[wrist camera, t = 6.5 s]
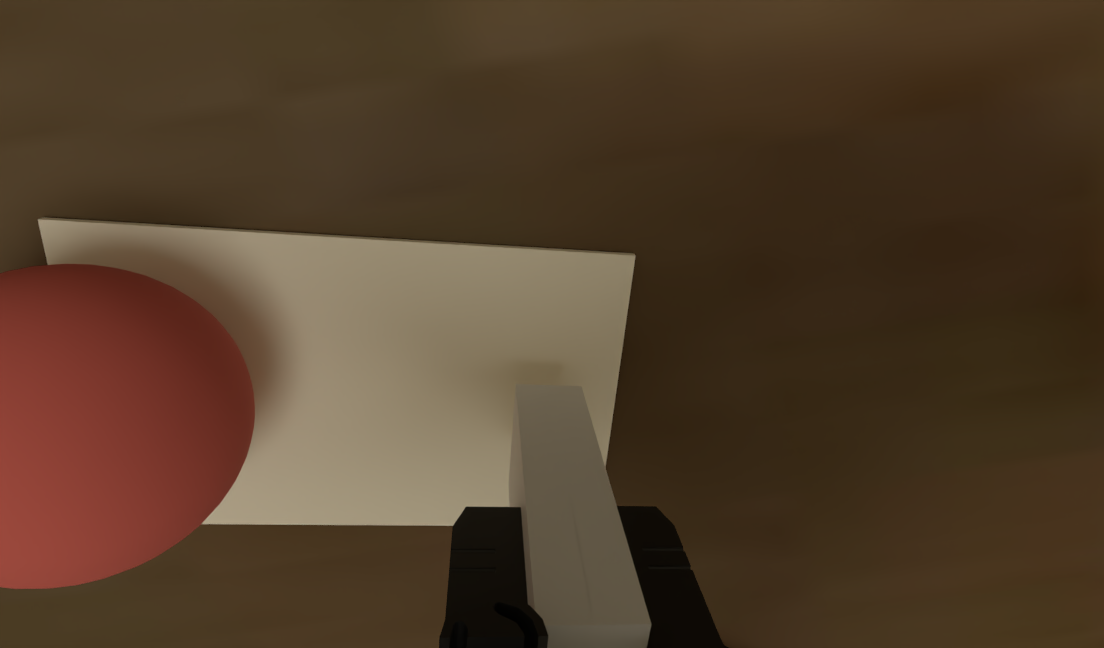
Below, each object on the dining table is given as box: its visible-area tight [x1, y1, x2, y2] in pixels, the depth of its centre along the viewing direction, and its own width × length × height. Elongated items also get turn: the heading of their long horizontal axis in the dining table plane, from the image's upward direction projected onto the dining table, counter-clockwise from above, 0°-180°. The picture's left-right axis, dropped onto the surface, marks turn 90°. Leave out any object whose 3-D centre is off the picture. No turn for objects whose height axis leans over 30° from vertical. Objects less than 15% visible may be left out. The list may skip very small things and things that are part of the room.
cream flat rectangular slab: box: [38, 217, 636, 526], centre depth 15 cm, size 13×8×1 cm, turn 85°
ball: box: [0, 264, 255, 589], centre depth 12 cm, size 6×6×6 cm
